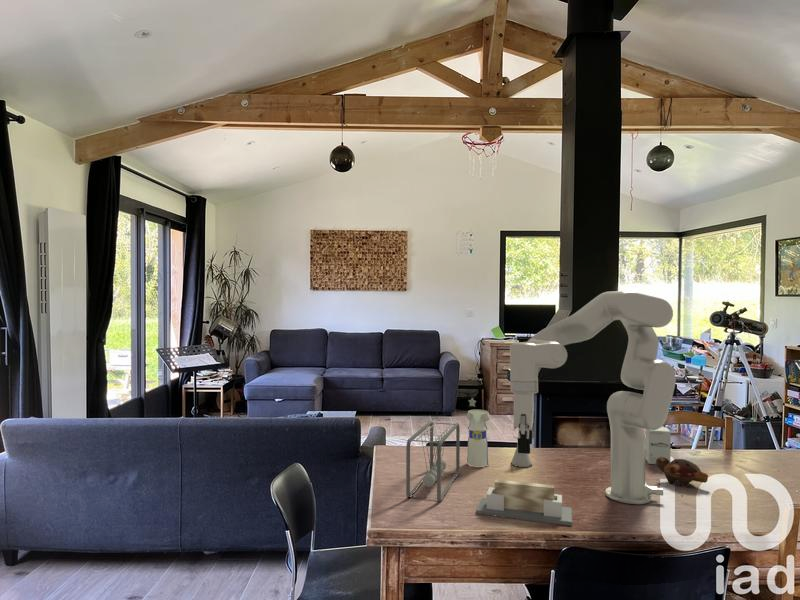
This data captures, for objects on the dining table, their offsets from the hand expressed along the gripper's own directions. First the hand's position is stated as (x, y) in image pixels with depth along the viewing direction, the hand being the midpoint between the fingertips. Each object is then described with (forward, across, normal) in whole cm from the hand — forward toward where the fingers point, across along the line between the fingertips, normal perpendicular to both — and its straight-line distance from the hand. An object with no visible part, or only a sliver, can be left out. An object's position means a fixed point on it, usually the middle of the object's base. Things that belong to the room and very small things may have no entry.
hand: (525, 448), depth 142 cm
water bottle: (+18, -40, -20) cm, 48 cm away
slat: (+17, 0, 0) cm, 17 cm away
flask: (+18, -45, -5) cm, 49 cm away
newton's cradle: (+18, -14, -30) cm, 37 cm away
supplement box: (+19, -64, +43) cm, 79 cm away
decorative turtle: (+19, -40, +46) cm, 64 cm away
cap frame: (+18, 0, -1) cm, 18 cm away
